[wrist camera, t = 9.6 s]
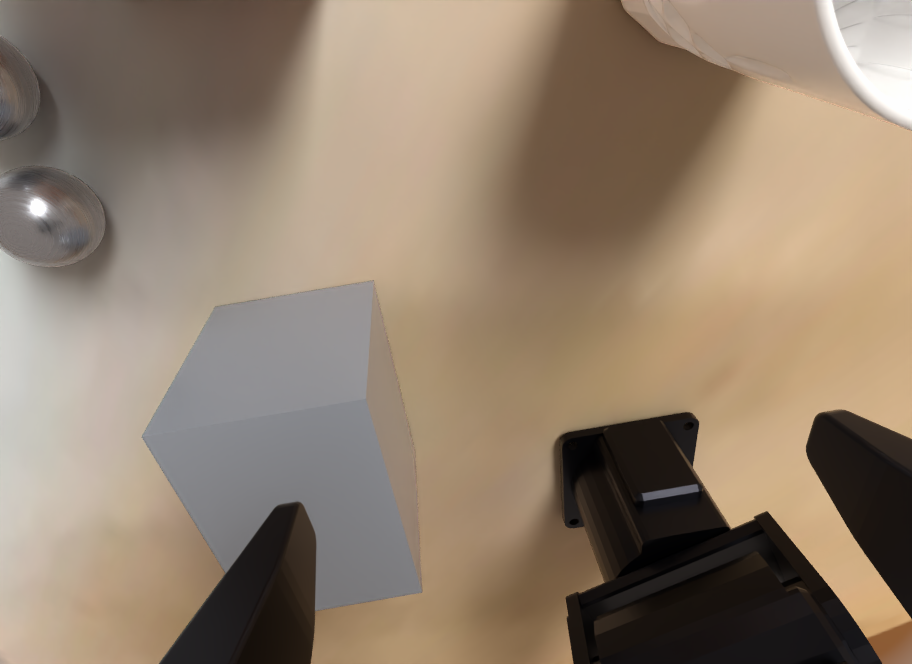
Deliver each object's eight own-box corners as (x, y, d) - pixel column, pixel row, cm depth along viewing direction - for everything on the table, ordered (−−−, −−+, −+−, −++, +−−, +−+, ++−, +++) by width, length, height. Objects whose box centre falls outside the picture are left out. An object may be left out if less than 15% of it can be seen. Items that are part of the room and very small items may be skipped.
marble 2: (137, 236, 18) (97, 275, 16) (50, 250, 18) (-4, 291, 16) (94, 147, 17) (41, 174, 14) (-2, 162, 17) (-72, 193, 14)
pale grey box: (415, 451, 25) (422, 592, 19) (287, 472, 25) (255, 621, 19) (373, 280, 20) (365, 399, 14) (215, 306, 20) (141, 436, 14)
